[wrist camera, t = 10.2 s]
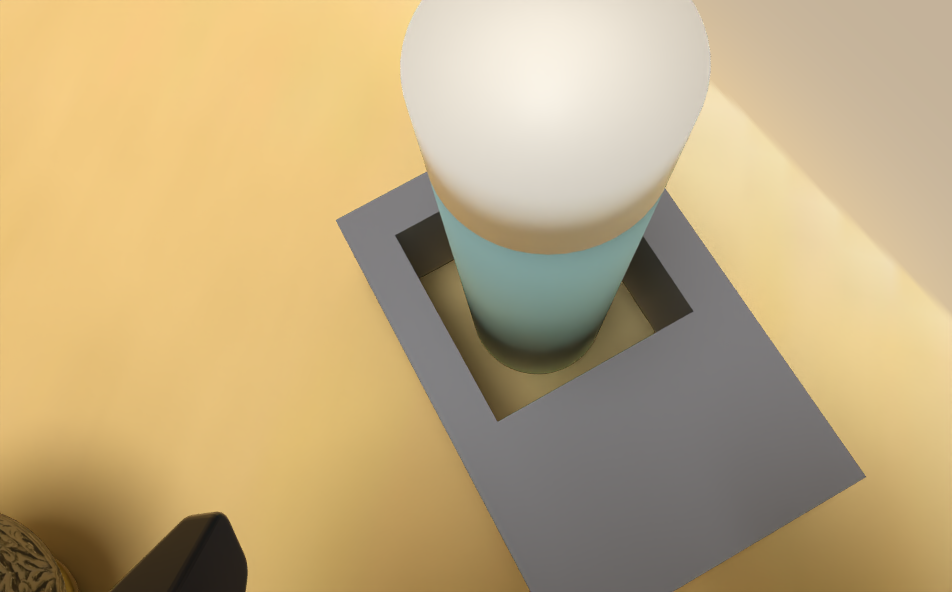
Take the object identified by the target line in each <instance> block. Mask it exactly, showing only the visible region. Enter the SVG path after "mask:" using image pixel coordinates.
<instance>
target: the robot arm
mask: <svg viewBox="0 0 952 592" xmlns="http://www.w3.org/2000/svg"><path fill="white" fill-rule="evenodd" d="M247 576H248V569H247V562H246V558H245V555H244V553H243V551H242V548H241V546H240V544H239V542H238V539H237V537H236V535H235V533H234V530H233V528H232V526H231V524H230V522H229V520H228V518H227V516H226V515H224V514H223V513H221V512H211V513H203V514H196V515H191V516H188V517H186V518H185V519H183V520H182V521H181V522H180V523H179V524H178V525H177V526H176V527H175V528H174V529H173V530H172V531H171V532H170V533H169V534H168V535H167V536H166V537H164V538H163V539H162V540H161V541H160V542H159V543H158V544H157V545H156V546H155V547H154V548H153V549H152V550H151V551H150V552H149V553H148V554H147V555H146V556H145V557H144V558H143V559H142V560H141V561H140V562H139V563H138V564H137V565H136V566H135V567H134V568H133V569H132V570H131V571H130V572H129V573H128V574H127V575H126V576H125V577H124V578H123V579H122V580H121V581H120V582H119V583H118V584H116V585H115V586H114V587H113V588H112V589H111V590H110V591H109V592H246V585H247Z"/></svg>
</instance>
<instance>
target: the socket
mask: <svg viewBox="0 0 952 592" xmlns="http://www.w3.org/2000/svg"><path fill="white" fill-rule="evenodd" d="M336 222H337V224H338V226H339V227H340V229H341V231H342V233H343V235H344V237H345V239H346V241H347V243H348V245H349V247H350V248H351V250H352V252H353V254H354V256H355V258H356V260H357V262H358V264H359V266H360V267H361V269H362V271H363V273H364V275H365V277H366V279H367V281H368V283H369V285H370V287H371V288H372V290H373V292H374V294H375V296H376V298H377V300H378V302H379V304H380V306H381V308H382V309H383V311H384V313H385V315H386V317H387V319H388V321H389V323H390V325H391V327H392V328H393V330H394V332H395V334H396V336H397V338H398V340H399V342H400V344H401V346H402V348H403V349H404V351H405V353H406V355H407V357H408V359H409V361H410V363H411V365H412V367H413V369H414V370H415V372H416V374H417V376H418V378H419V380H420V382H421V384H422V386H423V388H424V389H425V391H426V393H427V395H428V397H429V399H430V401H431V403H432V405H433V407H434V409H435V410H436V412H437V414H438V416H439V418H440V420H441V422H442V424H443V426H444V428H445V429H446V431H447V433H448V435H449V437H450V439H451V441H452V443H453V445H454V447H455V449H456V450H457V452H458V454H459V456H460V458H461V460H462V462H463V464H464V466H465V468H466V470H467V471H468V473H469V475H470V477H471V479H472V481H473V483H474V485H475V487H476V489H477V490H478V492H479V494H480V496H481V498H482V500H483V502H484V504H485V506H486V508H487V510H488V511H489V513H490V515H491V517H492V519H493V521H494V523H495V525H496V527H497V529H498V531H499V532H500V534H501V536H502V538H503V540H504V542H505V544H506V546H507V548H508V550H509V551H510V553H511V555H512V557H513V559H514V561H515V563H516V565H517V567H518V569H519V571H520V572H521V574H522V576H523V578H524V580H525V582H526V584H527V586H528V588H529V590H530V592H673V591H675V590H677V589H678V588H680V587H682V586H683V585H685V584H687V583H688V582H690V581H692V580H693V579H695V578H697V577H698V576H700V575H702V574H704V573H705V572H707V571H709V570H710V569H712V568H714V567H715V566H717V565H719V564H720V563H722V562H724V561H725V560H727V559H729V558H730V557H732V556H734V555H736V554H737V553H739V552H741V551H742V550H744V549H746V548H747V547H749V546H751V545H752V544H754V543H756V542H757V541H759V540H761V539H762V538H764V537H766V536H767V535H769V534H771V533H773V532H774V531H776V530H778V529H779V528H781V527H783V526H784V525H786V524H788V523H789V522H791V521H793V520H794V519H796V518H798V517H799V516H801V515H803V514H805V513H806V512H808V511H810V510H811V509H813V508H815V507H816V506H818V505H820V504H821V503H823V502H825V501H826V500H828V499H830V498H831V497H833V496H835V495H836V494H838V493H840V492H842V491H843V490H845V489H847V488H848V487H850V486H852V485H853V484H855V483H857V482H858V481H860V480H862V479H863V478H865V477H866V476H865V475H864V473H863V472H862V470H861V469H860V467H859V466H858V465H857V463H856V462H855V460H854V459H853V457H852V456H851V455H850V453H849V452H848V450H847V449H846V447H845V446H844V445H843V443H842V442H841V440H840V439H839V437H838V436H837V434H836V433H835V432H834V430H833V429H832V427H831V426H830V424H829V423H828V422H827V420H826V419H825V417H824V416H823V414H822V413H821V412H820V410H819V409H818V407H817V406H816V404H815V403H814V401H813V400H812V399H811V397H810V396H809V394H808V393H807V391H806V390H805V389H804V387H803V386H802V384H801V383H800V381H799V380H798V379H797V377H796V376H795V374H794V373H793V371H792V370H791V368H790V367H789V366H788V364H787V363H786V361H785V360H784V358H783V357H782V356H781V354H780V353H779V351H778V350H777V348H776V347H775V346H774V344H773V343H772V341H771V340H770V338H769V337H768V335H767V334H766V333H765V331H764V330H763V328H762V327H761V325H760V324H759V323H758V321H757V320H756V318H755V317H754V315H753V314H752V313H751V311H750V310H749V308H748V307H747V305H746V304H745V302H744V301H743V300H742V298H741V297H740V295H739V294H738V292H737V291H736V290H735V288H734V287H733V285H732V284H731V282H730V281H729V280H728V278H727V277H726V275H725V274H724V272H723V271H722V269H721V268H720V267H719V265H718V264H717V262H716V261H715V259H714V258H713V257H712V255H711V254H710V252H709V251H708V249H707V248H706V247H705V245H704V244H703V242H702V241H701V239H700V238H699V236H698V235H697V234H696V232H695V231H694V229H693V228H692V226H691V225H690V224H689V222H688V221H687V219H686V218H685V216H684V215H683V214H682V212H681V211H680V209H679V208H678V206H677V205H676V203H675V202H674V201H673V199H672V198H671V196H670V195H669V193H668V192H667V191H666V189H664V191H663V193H662V195H661V198H660V200H659V202H658V204H657V206H656V208H655V211H654V213H653V215H652V217H651V219H650V221H649V223H648V226H647V228H646V230H645V232H644V234H643V236H642V239H641V241H640V243H639V245H638V247H637V249H636V252H635V254H634V256H633V258H632V260H631V262H630V264H629V267H628V269H627V271H626V273H625V275H624V277H623V280H622V281H623V282H624V284H625V286H626V287H627V289H628V290H629V292H630V293H631V295H632V296H633V298H634V299H635V301H636V303H637V304H638V306H639V307H640V309H641V310H642V312H643V313H644V315H645V317H646V318H647V320H648V321H649V323H650V324H651V326H652V327H653V329H654V330H655V332H656V333H654V334H653V335H651V336H649V337H647V338H646V339H644V340H642V341H640V342H638V343H637V344H635V345H633V346H631V347H630V348H628V349H626V350H624V351H622V352H621V353H619V354H617V355H615V356H614V357H612V358H610V359H608V360H607V361H605V362H603V363H601V364H599V365H598V366H596V367H594V368H592V369H591V370H589V371H587V372H585V373H583V374H582V375H580V376H578V377H576V378H575V379H573V380H571V381H569V382H567V383H566V384H564V385H562V386H560V387H559V388H557V389H555V390H553V391H551V392H550V393H548V394H546V395H544V396H543V397H541V398H539V399H537V400H536V401H534V402H532V403H530V404H528V405H527V406H525V407H523V408H521V409H520V410H518V411H516V412H514V413H512V414H511V415H509V416H507V417H505V418H504V419H502V420H500V421H498V422H497V420H496V418H495V416H494V415H493V413H492V411H491V409H490V407H489V406H488V404H487V402H486V400H485V398H484V396H483V395H482V393H481V391H480V389H479V387H478V386H477V384H476V382H475V380H474V378H473V376H472V375H471V373H470V371H469V369H468V367H467V366H466V364H465V362H464V360H463V358H462V356H461V355H460V353H459V351H458V349H457V347H456V346H455V344H454V342H453V340H452V338H451V336H450V335H449V333H448V331H447V329H446V327H445V326H444V324H443V322H442V320H441V318H440V316H439V315H438V313H437V311H436V309H435V307H434V305H433V304H432V302H431V300H430V298H429V296H428V295H427V293H426V291H425V289H424V287H423V285H422V284H421V282H420V280H419V278H421V277H423V276H424V275H426V274H428V273H430V272H432V271H434V270H435V269H437V268H439V267H441V266H443V265H445V264H446V263H448V262H450V261H452V260H454V257H453V254H452V250H451V247H450V244H449V241H448V237H447V234H446V231H445V228H444V225H443V221H442V218H441V215H440V212H439V209H438V205H437V202H436V199H435V196H434V192H433V189H432V186H431V183H430V180H429V176H428V173H427V172H425V173H423V174H422V175H420V176H418V177H416V178H414V179H412V180H410V181H408V182H406V183H405V184H403V185H401V186H399V187H397V188H395V189H393V190H391V191H390V192H388V193H386V194H384V195H382V196H380V197H378V198H376V199H374V200H373V201H371V202H369V203H367V204H365V205H363V206H361V207H359V208H358V209H356V210H354V211H352V212H350V213H348V214H346V215H344V216H342V217H341V218H339V219H337V220H336Z"/></svg>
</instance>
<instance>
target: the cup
mask: <svg viewBox="0 0 952 592" xmlns="http://www.w3.org/2000/svg"><path fill="white" fill-rule="evenodd" d="M0 592H79V590H78V586H77V584H76V581H75V579H74V577H73V575H72V574H71V573H70V571H69V570H68V569H67V568H66V567H65V566H64V565H63V564H62V563H61V562H59V561H58V560H56V559H55V558H54V557H53V555H52V554H51V552H50V551H49V549H48V548H47V546H46V545H45V544H44V543H43V542H42V541H41V540H40V538H38V537H37V536H36V535H35V534H34V533H33V532H32V531H30V530H29V529H28V528H26V527H25V526H23V525H22V524H20V523H19V522H17V521H16V520H14V519H12V518H10V517H8V516H5V515H3V514H0Z"/></svg>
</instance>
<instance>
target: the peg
mask: <svg viewBox="0 0 952 592" xmlns="http://www.w3.org/2000/svg"><path fill="white" fill-rule="evenodd" d="M400 67H401V84H402V90H403V96H404V99H405V102H406V106H407V109H408V112H409V115H410V118H411V122H412V125H413V128H414V131H415V135H416V138H417V141H418V144H419V147H420V151H421V154H422V157H423V160H424V164H425V167H426V170H427V173H428V176H429V180H430V183H431V186H432V189H433V192H434V196H435V199H436V202H437V205H438V209H439V212H440V215H441V218H442V221H443V225H444V228H445V231H446V234H447V237H448V241H449V244H450V247H451V250H452V254H453V257H454V260H455V263H456V266H457V270H458V273H459V276H460V279H461V283H462V286H463V289H464V292H465V295H466V299H467V302H468V305H469V308H470V311H471V315H472V318H473V321H474V324H475V327H476V331H477V334H478V336H479V338H480V340H481V342H482V343H483V345H484V347H485V348H486V349H487V350H488V352H489V353H490V354H491V355H492V356H493V357H494V358H496V359H497V360H498V361H499V362H501V363H502V364H504V365H506V366H508V367H510V368H512V369H514V370H517V371H520V372H525V373H532V374H544V373H550V372H555V371H558V370H561V369H564V368H566V367H568V366H570V365H571V364H573V363H574V362H576V361H577V360H578V359H580V358H581V357H582V356H583V355H584V354H585V353H586V352H587V350H588V349H589V348H590V346H591V345H592V343H593V342H594V340H595V338H596V336H597V333H598V331H599V329H600V327H601V325H602V323H603V320H604V318H605V316H606V314H607V312H608V310H609V308H610V305H611V303H612V301H613V299H614V297H615V295H616V292H617V290H618V288H619V286H620V284H621V282H622V280H623V277H624V275H625V273H626V271H627V269H628V267H629V264H630V262H631V260H632V258H633V256H634V254H635V252H636V249H637V247H638V245H639V243H640V241H641V239H642V236H643V234H644V232H645V230H646V228H647V226H648V223H649V221H650V219H651V217H652V215H653V213H654V211H655V208H656V206H657V204H658V202H659V200H660V198H661V195H662V193H663V191H664V189H665V187H666V185H667V183H668V180H669V178H670V176H671V174H672V172H673V170H674V167H675V165H676V163H677V161H678V159H679V157H680V155H681V152H682V150H683V148H684V146H685V144H686V142H687V139H688V137H689V135H690V133H691V131H692V129H693V126H694V124H695V122H696V120H697V118H698V116H699V114H700V111H701V109H702V107H703V104H704V101H705V97H706V94H707V91H708V85H709V78H710V49H709V43H708V37H707V33H706V30H705V27H704V24H703V21H702V19H701V17H700V14H699V12H698V10H697V8H696V7H695V4H694V3H693V2H692V0H422V1H421V2H420V4H419V6H418V7H417V9H416V11H415V12H414V14H413V17H412V19H411V21H410V23H409V26H408V28H407V31H406V35H405V38H404V42H403V46H402V54H401V61H400Z"/></svg>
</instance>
